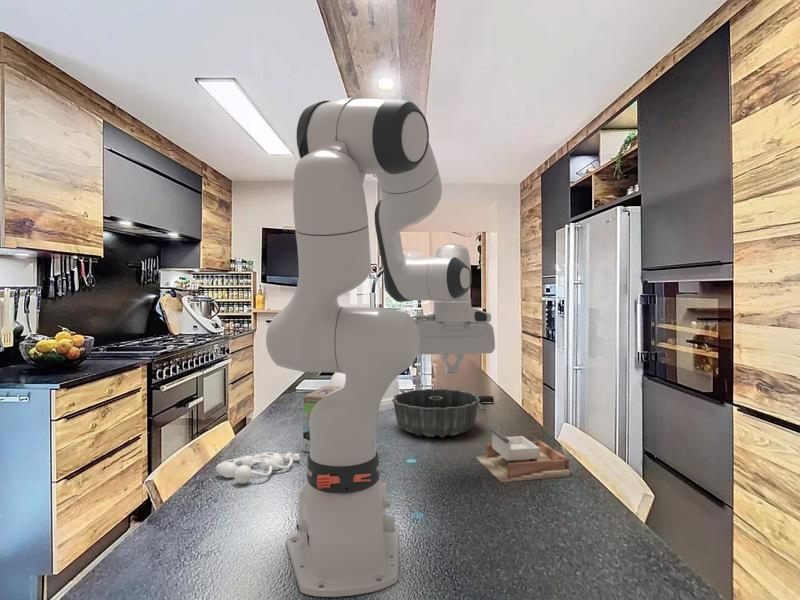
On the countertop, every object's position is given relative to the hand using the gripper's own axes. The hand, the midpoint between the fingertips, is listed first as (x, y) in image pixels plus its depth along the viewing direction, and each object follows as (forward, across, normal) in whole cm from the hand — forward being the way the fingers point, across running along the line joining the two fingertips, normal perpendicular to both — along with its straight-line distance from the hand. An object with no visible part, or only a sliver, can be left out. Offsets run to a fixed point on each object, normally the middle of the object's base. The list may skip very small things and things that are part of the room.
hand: (451, 372), depth 111 cm
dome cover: (+22, -14, +70) cm, 75 cm away
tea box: (+23, -28, +23) cm, 42 cm away
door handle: (+22, +23, +56) cm, 65 cm away
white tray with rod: (+21, +15, -2) cm, 26 cm away
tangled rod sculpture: (+23, -45, +7) cm, 51 cm away
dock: (+22, +17, -2) cm, 28 cm away
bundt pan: (+22, +4, +31) cm, 39 cm away
